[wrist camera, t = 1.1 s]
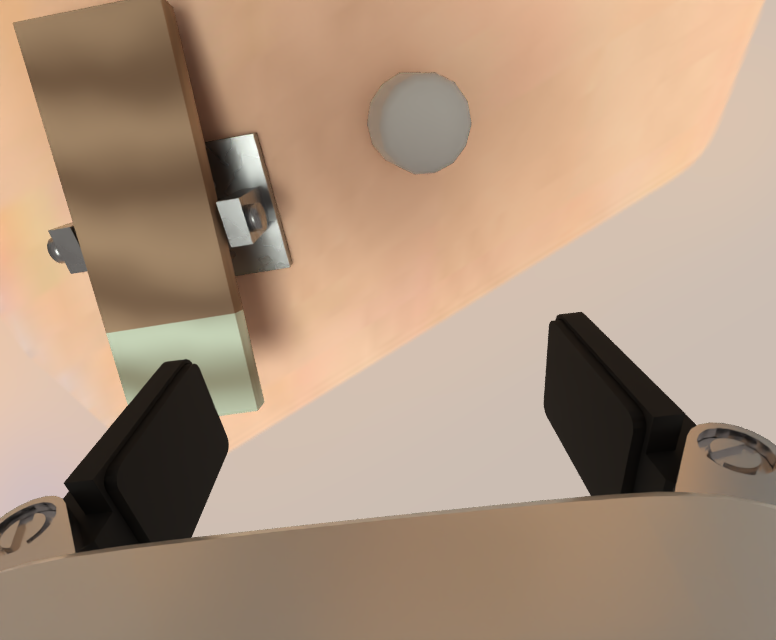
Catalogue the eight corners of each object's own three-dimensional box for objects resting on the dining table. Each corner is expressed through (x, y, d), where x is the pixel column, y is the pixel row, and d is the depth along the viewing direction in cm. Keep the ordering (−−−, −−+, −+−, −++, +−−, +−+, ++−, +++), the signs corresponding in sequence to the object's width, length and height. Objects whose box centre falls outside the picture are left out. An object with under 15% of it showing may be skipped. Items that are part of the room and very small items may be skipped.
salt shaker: (376, 66, 28) (373, 32, 17) (456, 84, 29) (509, 62, 17) (362, 156, 31) (353, 181, 19) (437, 171, 31) (472, 203, 20)
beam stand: (71, 166, 31) (6, 177, 25) (259, 132, 30) (232, 136, 24) (129, 289, 35) (84, 320, 30) (294, 262, 34) (278, 290, 29)
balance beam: (34, 35, 26) (12, 22, 24) (173, 7, 25) (159, -7, 24) (147, 418, 31) (134, 427, 29) (264, 401, 30) (257, 410, 29)
